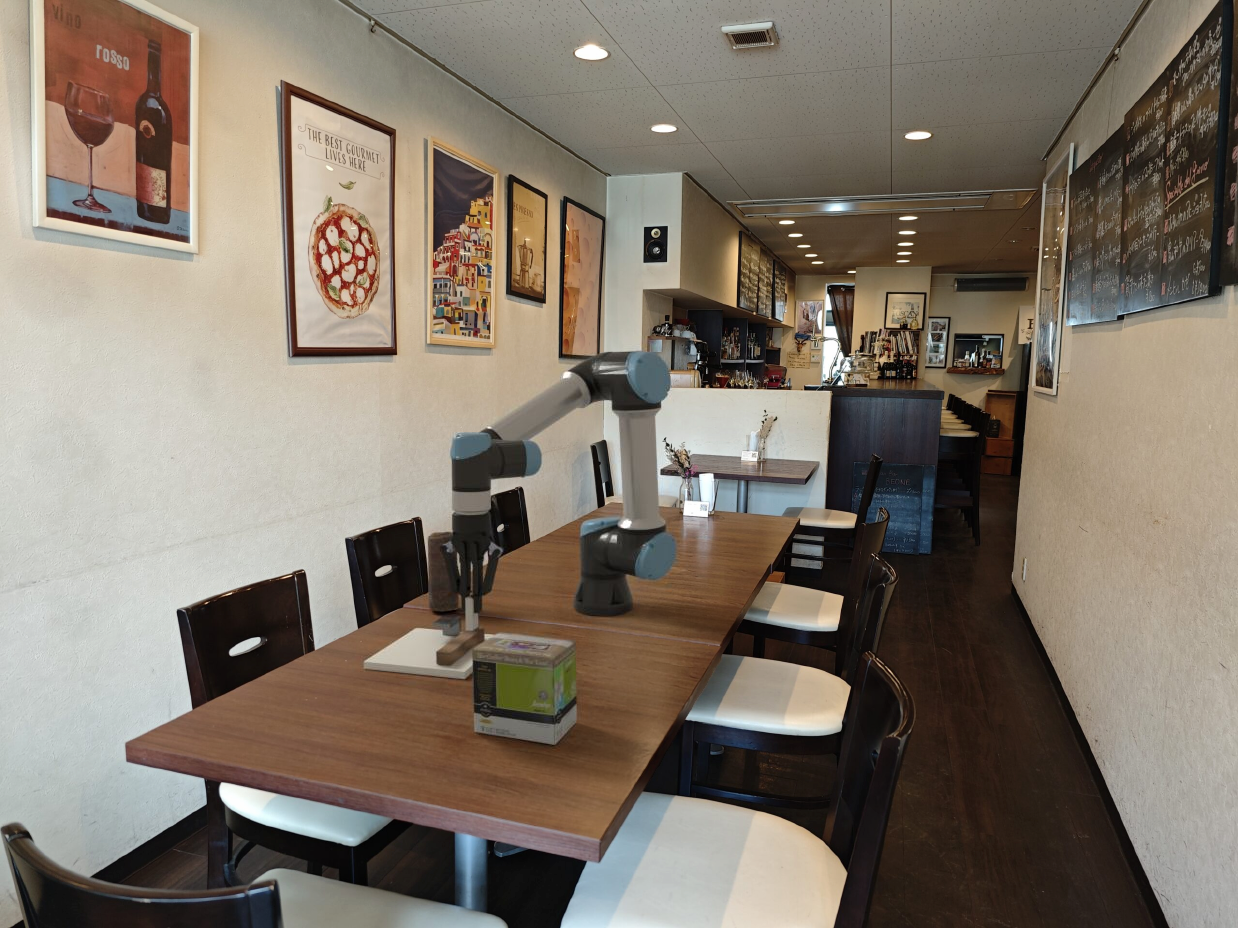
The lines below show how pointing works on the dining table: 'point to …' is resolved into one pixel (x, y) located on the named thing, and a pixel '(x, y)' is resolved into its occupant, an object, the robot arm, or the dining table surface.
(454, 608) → the candle
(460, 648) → the link
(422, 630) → the base plate
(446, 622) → the keeper
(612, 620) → the dining table surface
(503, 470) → the robot arm
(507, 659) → the tea box
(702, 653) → the dining table surface
